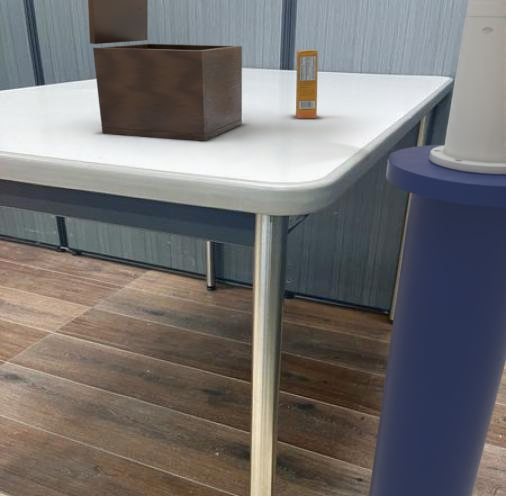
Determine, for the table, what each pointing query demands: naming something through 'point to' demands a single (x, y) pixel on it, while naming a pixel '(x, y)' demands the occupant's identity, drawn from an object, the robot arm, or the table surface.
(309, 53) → the supplement box
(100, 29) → the lid
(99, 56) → the chest
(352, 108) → the table surface
